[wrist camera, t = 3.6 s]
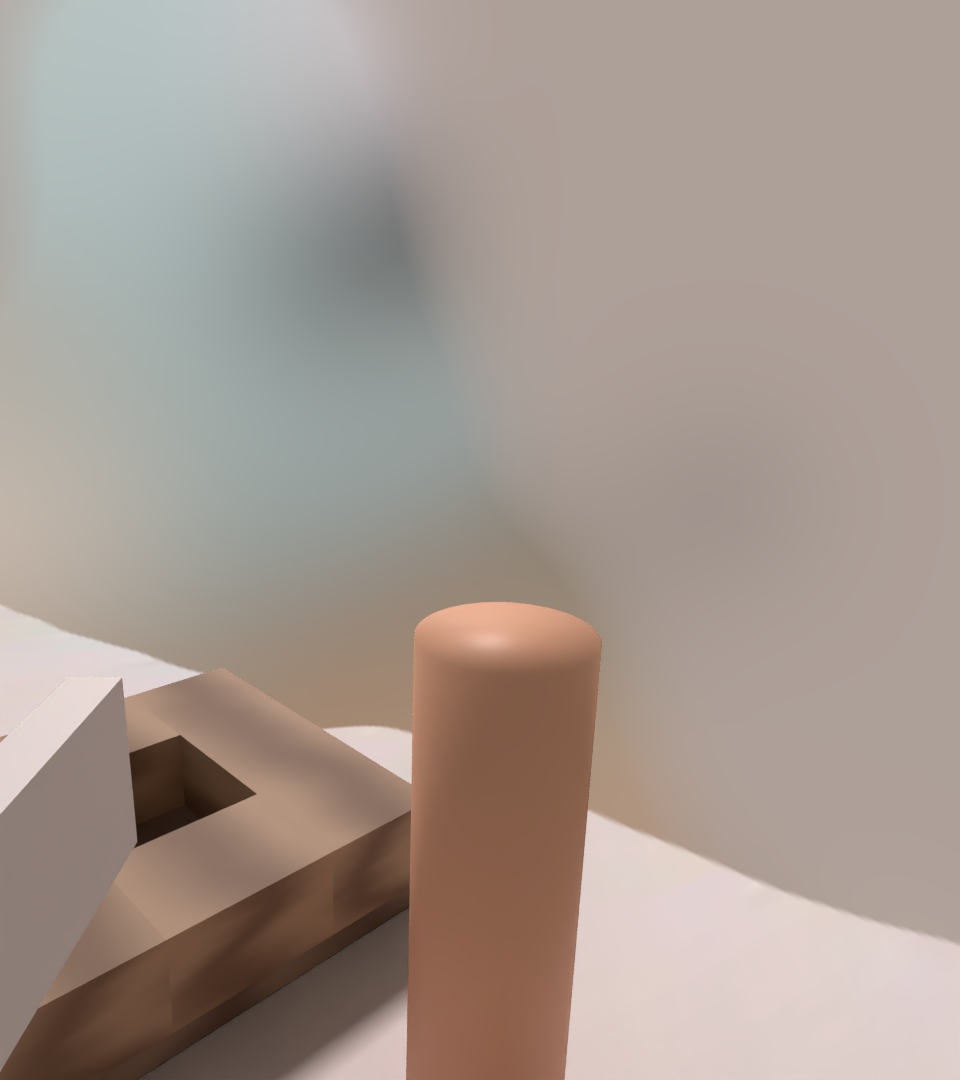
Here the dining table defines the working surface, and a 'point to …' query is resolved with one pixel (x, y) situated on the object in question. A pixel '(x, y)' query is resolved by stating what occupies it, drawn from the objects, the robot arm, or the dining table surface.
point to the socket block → (220, 879)
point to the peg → (497, 838)
